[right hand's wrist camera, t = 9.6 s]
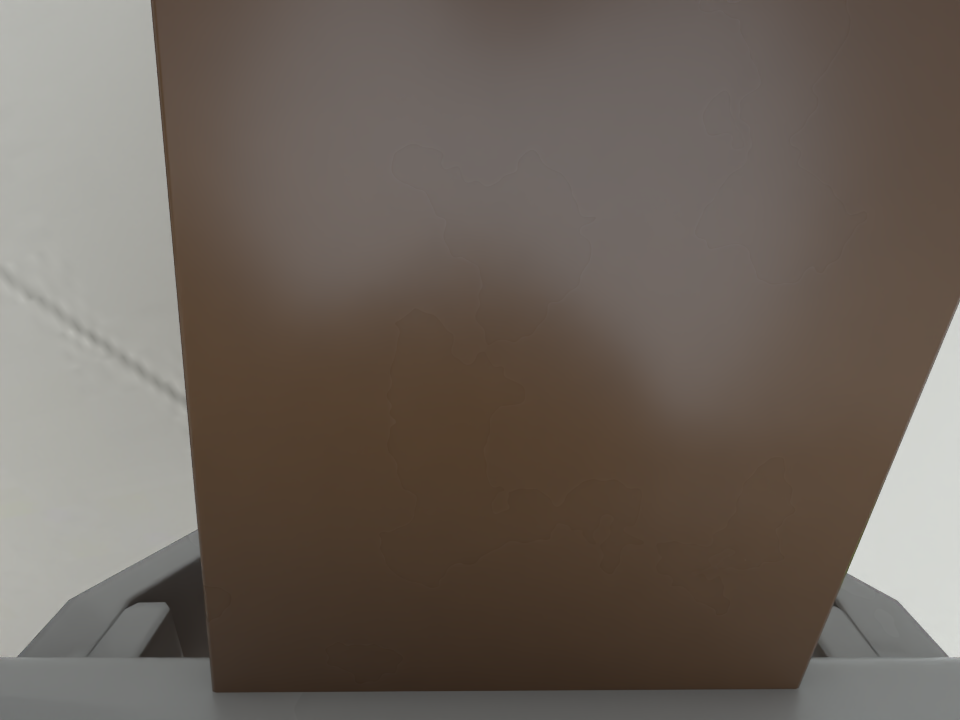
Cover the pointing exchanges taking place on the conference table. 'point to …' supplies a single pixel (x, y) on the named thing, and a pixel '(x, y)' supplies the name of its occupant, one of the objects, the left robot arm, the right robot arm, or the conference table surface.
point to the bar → (549, 327)
